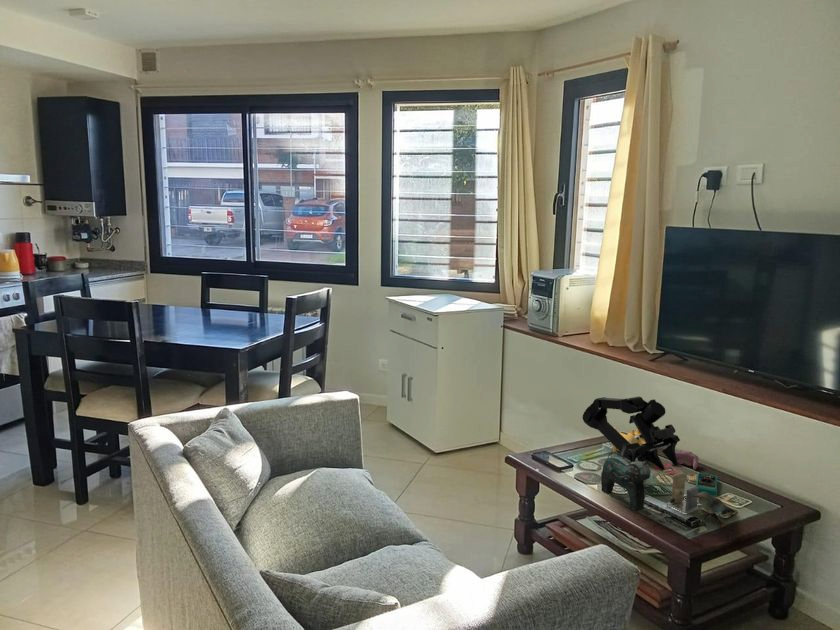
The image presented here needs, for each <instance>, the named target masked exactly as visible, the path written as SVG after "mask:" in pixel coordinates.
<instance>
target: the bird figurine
mask: <svg viewBox="0 0 840 630" xmlns="http://www.w3.org/2000/svg"><path fill="white" fill-rule="evenodd" d="M690 497H696V498H698V503H699V504H700V506H701V507H702V509H704V510H705V513H704V514H703V516H702V517H701V520H702V522H705V521H707V518H709V517H711V518H712V519H713V520H714V521H715V523H716V525H718V526H719V527H720V528H724V527H725V526H726V525H725V523H724V522H723V520H721V517H720V516H721V515H722V516H723V515H724V516H725V515H727V514H730V515H733V514H736V513H737V512H736V511H735V509H732V508H731V507H729V506H727V505H726V504H725V503H724V502H722V500H721V499H720V498H718V497H716V496H712V495H710V494H709V493H707V492H700V493H698V494H697V495H693V496H690ZM717 514H718V515H717Z"/></svg>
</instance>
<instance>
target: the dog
mask: <svg viewBox="0 0 840 630" xmlns="http://www.w3.org/2000/svg"><path fill="white" fill-rule="evenodd" d="M613 428H615V429H616V430H617V428H616V427H615V426H614V427H613ZM618 432H619V433H620V434H621V435H622V436H623V437H624V438H625V439H626V440H627V441H628V442H629V443H630V444H633V443H638V444H640V446H641V445H642V444H645V443H646V442H645V440H644V439H643V437H642V438H640V437H639V435H641V434H640V432H639V430H638V429H637V428H636V430H635V431H634V429H631V430H630V431H629V432H628V433H627V434H625V433H623V432H621V431H618ZM610 444H611V447H612V452H617V453H618V449H617V448H616V447H615V446H614V445H613V444H612V443H611V442H610Z"/></svg>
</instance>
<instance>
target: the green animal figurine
mask: <svg viewBox="0 0 840 630" xmlns="http://www.w3.org/2000/svg"><path fill="white" fill-rule="evenodd" d="M628 450H629V451H631V452H632V450H631V449H628ZM628 450H626V452H627V451H628ZM613 454H617V455H615V456H611V455H613ZM632 454H633V452H632ZM610 456H611V457H610ZM621 456H622V455H621V452H620V453H619V452H618V451H617V452H613V451H611V452H610V453H609V454H608V456H607V459H606V460H604V462H603V466H602V470H601V473H600V477H601V478H600V483H601V485H600V486H601V492H603V493H604V494H606V495H609V494H612V493H613V489H614V486H615V484H617V485H618V486H619V487H620V488H623V489H625V490H626V492H627V494H628V497H629V508H630V509H633V510H634V511H636V512H637V511H638V512H639V511H642V510H644V509H645V507H644V506H645V499H646V498H645V497H646V495H645V482H644V481H646V480H648V479H650V477H651V473H652V472H651V468H650V467H649V465H648V461H647V462H646V461H644V462H639V461H638V459H637V458H636V459H635V461H634V462H633V459H632V461H629V460H628V459H627V458H624V457H623V456H622V457H621Z"/></svg>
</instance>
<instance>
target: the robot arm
mask: <svg viewBox="0 0 840 630" xmlns="http://www.w3.org/2000/svg"><path fill="white" fill-rule="evenodd" d="M608 409H609V410H619V411H621V412H622V413H625V414H627V415H628V414H629V415H630V414H633V415H630V416H629V420H628V424H634V426H635V427H636V429H638V430H639V432H640V434H641V435H639V437H640V438H642V437H643V439H644V440H645V442H646V443H645V444H642V445H641V446H640V444H638V443H633V444H630V443H629V442H628V441H627V440H626V439H625V438H624V437H623V436H622V435H621V434H620V433H621V432H620V431H618V430H617V428H616V427H615V428H616V429H615V428H614V427H613V426H612V425H611V424H610V422H608V417H607V414H608ZM635 413H636V414H635ZM666 413H667V411H666V408H665V406H664V405H662V403H660V402H658V401H657V400H656V399H650V400H648V401H646V400H644V399H643V397H641V396H633V397H629V398H628V397H627V398H614V397H613V398H612V397H611V398H610V397H605V396H603V397H596V398H594V399H593V402H592V403H591V404H590V405H589V406H588V407H587V408H586V409H585V411H584V412H583V414H582V420H583V423H584V424H585V425H587V426H588V427H589V428H591V429H594V430H597V431H599V432H600V433H601V435H603V436H604V438H606V439H607V440H608V441H609V443H610V444H611V443H612V444H613V445H614V446H615V447H616V448H617V451H619V452H620V454H621V455H622V456H623V457H624V458H627V459H628V460H629V461H632V459H633V462H634V461H635V459H636V458H637V459H638V461H639V462H644V461H646V462H647V463H648V462H650V463H652V464H653V465H654V466H655V467H657V468H658V469H660V470H661V471H664V470H665V465H664V463H663V462H662V460H661V457H659V454H658V449H659V448H663V449H662V450H661V453H662V454H664V455H665V456H666V458H667V459H668V460H669V462H670V463H671V462H672V463H673V464H674V465H673V466H675V467H676V466H678V465H679V463H678V461H677V458H676V454H675V452H676V446H677V445H678V442H680V441H681V439H680V437H679V436H678V435H676V434H675V433H676V429H675V427H674V426H673V424H667V425H665V427H663V428H660V427H659V426H655V425H654V424H655V423H656V422H657V421H659V420H660V419H661V418H663V417H664V416H665V414H666ZM619 432H620V433H619ZM612 444H611V445H612ZM628 449H631V450H632V452H633V454H632V452H631V451H629V450H628ZM626 450H628V451H627V452H626ZM621 455H620V457H622V456H621Z"/></svg>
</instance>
